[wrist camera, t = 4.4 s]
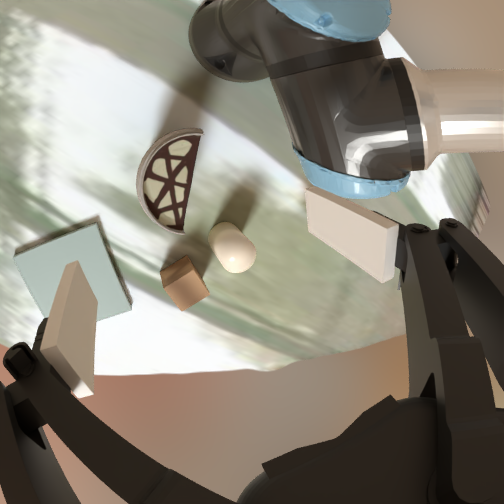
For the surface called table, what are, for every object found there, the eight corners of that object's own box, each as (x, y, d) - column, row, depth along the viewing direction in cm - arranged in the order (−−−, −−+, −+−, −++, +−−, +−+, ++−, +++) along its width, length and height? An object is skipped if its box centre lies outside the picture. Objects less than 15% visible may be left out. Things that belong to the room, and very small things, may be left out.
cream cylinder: (236, 218, 45) (253, 234, 39) (241, 246, 48) (258, 266, 42) (204, 227, 44) (217, 245, 38) (212, 256, 46) (225, 277, 41)
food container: (144, 121, 34) (147, 120, 26) (188, 127, 37) (205, 129, 29) (130, 209, 39) (130, 235, 30) (172, 213, 41) (184, 239, 33)
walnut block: (186, 254, 45) (193, 269, 41) (202, 278, 47) (210, 294, 43) (159, 271, 44) (163, 288, 40) (176, 294, 47) (181, 311, 43)
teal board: (96, 222, 37) (96, 224, 36) (131, 306, 44) (131, 309, 44) (14, 255, 33) (12, 257, 32) (56, 331, 41) (55, 334, 40)
